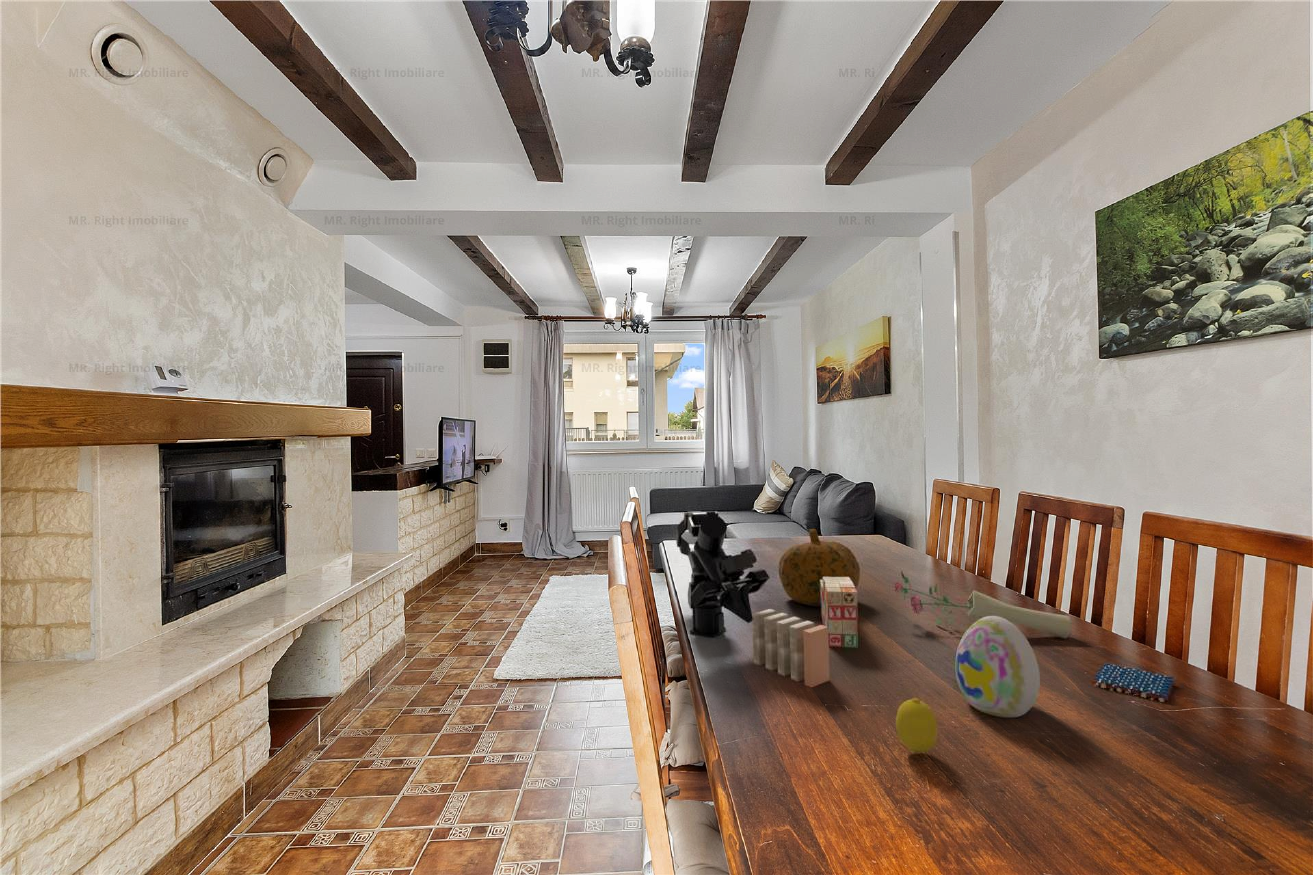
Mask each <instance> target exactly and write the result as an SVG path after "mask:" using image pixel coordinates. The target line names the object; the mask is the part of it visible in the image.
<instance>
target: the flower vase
mask: <svg viewBox="0 0 1313 875" xmlns="http://www.w3.org/2000/svg"><path fill="white" fill-rule="evenodd" d="M900 574H901V578H902V579H903V580H904V583H905V584H908V585H909V588H907V587H903V585H902V583H900V582H899V580H896V581H895V583H894V586H893V587H894V588H893V591H894V592H895V593H896V594H899V593H901V594H902V593H903V594H904V595H903V599H902V601H903V602H904V601H905V600H906V598H909V599H910V602H909V603H910V606H911V607H912V611H913V612H912V613H914V614H915V615H917V616H918V617H920V614H921V612H923V611H924V609H923V605H935V606H937V607H939V606H943V608H942V612H944V613H945V612H946V611H947V612H948V613H947V615H946V616H945V617H944V618H943V619H942V617H939V618H938V620H937V622H936V627H937V626H938V625H939V624H940V623H942V621H944V620H945V619H946V618H947V619H946V620H945V626H946V629H947V632H948V633H949V632H950V630H949V626H950V625H951V624H952V622H953V620H954V619H956V618H960V617H961V615H960V616H955V617H952V618H951V619H950V620H949V617H950V615H951V614H952V613H955V611H953V610H954V609H956V608H967V609H966V610H964V611H962V613H963V614H962V615H964V613H965V612H967V617H968V618H973V619H974V618H977V619H981V618H984V617H987V616H998V617H1002V618H1004V619H1006V620H1008V621H1009V622H1011V623H1015V624H1018V625H1021V626H1025V627H1027V628H1031V629H1035V630H1038V631H1041V632H1044V633H1047V634H1048V635H1049V634H1050V635H1052V636H1056V637H1059V638H1061V639H1063V640H1064V639H1067V638H1068V637H1069V636H1070V633H1071V629H1072V622H1071V617H1069V615H1065V614H1064V615H1063V614H1058V613H1057V614H1056V613H1052V612H1045V611H1040V610H1034V609H1029V608H1024V607H1019V606H1016V605H1011V604H1009V603H1006V602H1003V601H1001V600H998V599H996V598H993V597H992V596H989V595H987V594H984V593H982V592H980V591H977V590H975V589H974V590H973V591H972V592H971V594H970V596H969V597H968V599H967V606H965V605H957V604H955V603H953V602H952V601H950V600H949V598H948V597H946V595H945V594H942V599H941V598H939V596H938V583H936V584H935V586H934V592H935V594H937V597H935V596H934V595H933V589H932V588H933V587H932V586H930V587H929V589H928V592H929V594H928V593H927V594H926V593H924V592H921V591H918V590H915V589H912V588H911V582H910V581H909V578H908V576H905V574H904V572H903V571H902V570H901V571H900ZM908 591H911V592H914V593H909V592H908ZM915 592H916V593H915ZM906 594H909V596H906ZM917 594H922V595H925V596H927V597H930V598H932V599H935V600H937V601H938V602H937V601H934V602H933V603H931V602H928V603H926V602H923V603H922V600H921V598H920V597H921V596H920V595H919V597H918V596H917ZM943 602H944V603H943ZM946 606H947V607H954V608H953V609H951V610H950V611H948V610H947V608H946ZM948 620H949V622H948ZM947 622H948V623H947Z"/></svg>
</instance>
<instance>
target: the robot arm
mask: <svg viewBox="0 0 1313 875" xmlns="http://www.w3.org/2000/svg"><path fill="white" fill-rule="evenodd" d="M727 529H728V527H727V522H726V521H725V520H724V519H723V518H722V516H721V515H719V512H718V511H717V510H716V511H715V510H714V511H701V510H699V511H698V510H697V511H695V510H694V511H693V510H692V511H687V512H684V514H683V519H682V520H681V521H680V522H679V523H678V525H676V532H675V533H676V534H675V535H676V537H675V539H676V540H675V541H676V547H677V548H679V551H680V554H681V555H685V556H687V558H688V562H689V564H690V567H691V575H690V576H691V577H690V581H689V582H688V589H687V605H688V606H689V609H691V612H692V613H691V614H692V628H691V629H689V633H690V634H693V635H694V634H695V635H699V636H704V637H709V638H714V637H716V636H718V635H719V634H720V633H722V632H725V631H726V630H727V627H726V626H725V616H724V615H725V614H724V611H723V608H724V609H726V610H728V611H730V613H733V614H734V615H736V616H737V617H739V618H740V619H741V620H743V621H744V622H745V623H747V624H749V623H753V612H752V608H751V603H750V595H752V594H755V593H757V592H759V591H760V590H761V589H762V588H763V586H764V585H765V584H766V583H767V582H768V581H769V579H770V578H771V577H770V576H769V574H768V573H767V570H765V569H764V568H759V569H754V570H750V571H749V572H748V573H747V574H746V576H745V577H744V578H742V579H741V577H743V576H744V575H745V570H748V569H753V568H754V567H755V566H754V564H756V563H757V557H756V554H755V553H754V551H753V550H752V549H751V548H748V549H744V550H743V551H741V552H740V553H739V554H734V555H732V554H728V555H727V554H726V552H725V551H724V548H723V545H724V541H725V537H726V533H727Z"/></svg>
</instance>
